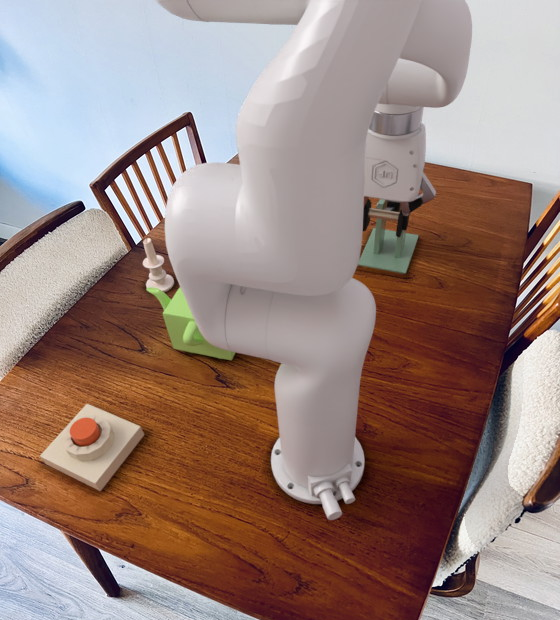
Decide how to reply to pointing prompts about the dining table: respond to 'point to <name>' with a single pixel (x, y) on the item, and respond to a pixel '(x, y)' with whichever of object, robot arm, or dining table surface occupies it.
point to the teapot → (185, 326)
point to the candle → (156, 269)
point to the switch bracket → (388, 247)
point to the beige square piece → (94, 448)
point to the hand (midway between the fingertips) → (382, 228)
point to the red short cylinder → (85, 431)
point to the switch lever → (386, 211)
